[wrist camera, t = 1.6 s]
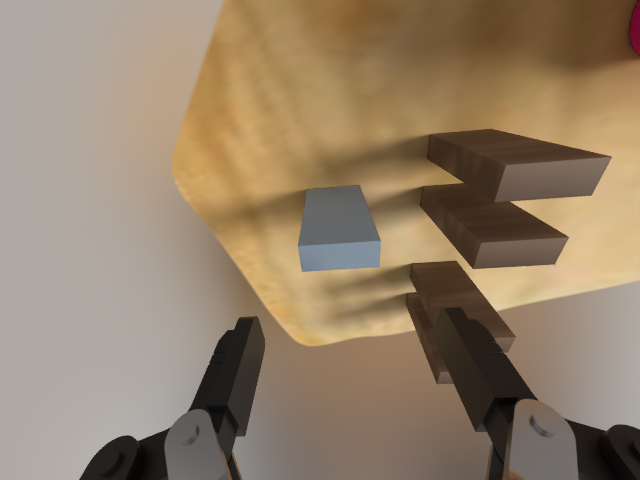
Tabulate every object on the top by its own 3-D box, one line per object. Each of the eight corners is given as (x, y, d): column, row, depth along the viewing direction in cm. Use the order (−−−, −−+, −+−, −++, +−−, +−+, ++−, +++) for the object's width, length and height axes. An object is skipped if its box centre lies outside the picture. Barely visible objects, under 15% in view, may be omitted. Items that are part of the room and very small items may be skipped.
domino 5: (411, 263, 28) (451, 339, 19) (456, 260, 28) (515, 337, 19) (409, 276, 29) (446, 354, 20) (452, 274, 29) (507, 352, 20)
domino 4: (422, 186, 23) (481, 242, 14) (477, 182, 23) (569, 237, 14) (420, 205, 24) (473, 268, 16) (471, 201, 24) (554, 264, 15)
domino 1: (307, 189, 23) (298, 246, 15) (359, 185, 23) (380, 240, 14) (309, 208, 24) (302, 271, 16) (359, 204, 24) (379, 267, 16)
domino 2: (407, 292, 30) (440, 372, 22) (448, 290, 30) (498, 369, 21) (405, 304, 31) (436, 384, 23) (445, 302, 31) (491, 382, 22)
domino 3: (430, 134, 21) (505, 165, 12) (491, 128, 20) (612, 156, 12) (426, 158, 22) (494, 202, 13) (484, 153, 21) (591, 195, 13)
